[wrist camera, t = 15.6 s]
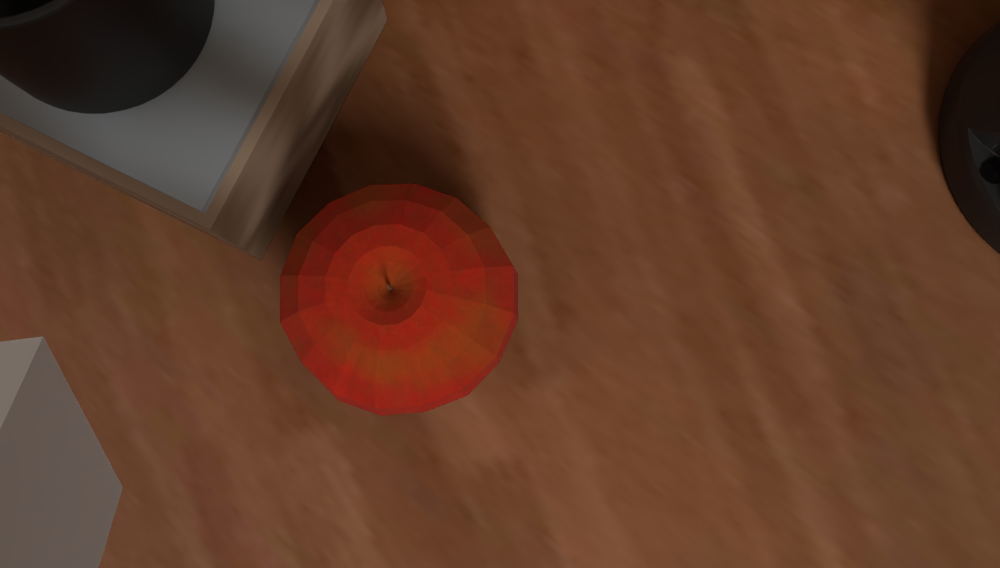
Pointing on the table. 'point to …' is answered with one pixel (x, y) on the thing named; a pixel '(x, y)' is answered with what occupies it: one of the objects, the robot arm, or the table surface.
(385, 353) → the apple
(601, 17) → the table surface
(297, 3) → the grey square box
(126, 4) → the mug
